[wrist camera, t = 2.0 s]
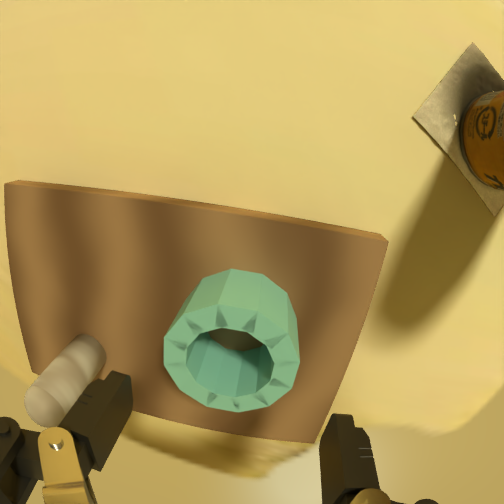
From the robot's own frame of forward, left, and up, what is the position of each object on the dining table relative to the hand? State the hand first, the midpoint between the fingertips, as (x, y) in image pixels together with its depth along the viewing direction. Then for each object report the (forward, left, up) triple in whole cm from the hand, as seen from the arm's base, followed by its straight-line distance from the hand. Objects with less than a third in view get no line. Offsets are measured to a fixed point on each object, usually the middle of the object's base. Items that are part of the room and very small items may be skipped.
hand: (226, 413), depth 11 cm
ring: (0, 0, -7) cm, 7 cm away
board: (-5, -2, -9) cm, 10 cm away
